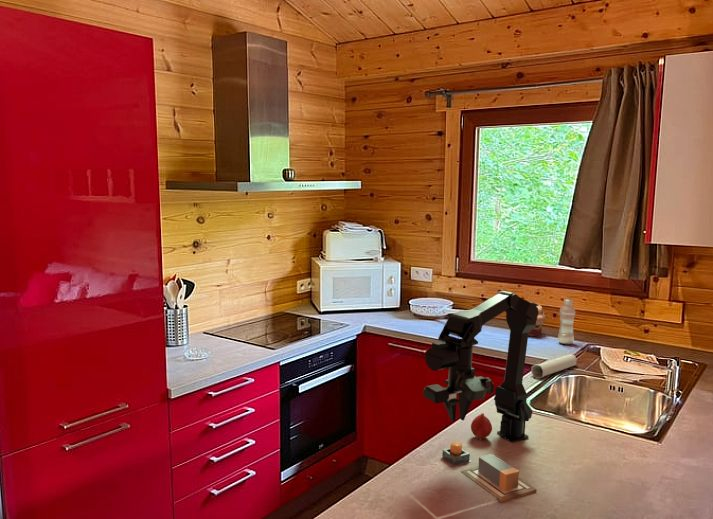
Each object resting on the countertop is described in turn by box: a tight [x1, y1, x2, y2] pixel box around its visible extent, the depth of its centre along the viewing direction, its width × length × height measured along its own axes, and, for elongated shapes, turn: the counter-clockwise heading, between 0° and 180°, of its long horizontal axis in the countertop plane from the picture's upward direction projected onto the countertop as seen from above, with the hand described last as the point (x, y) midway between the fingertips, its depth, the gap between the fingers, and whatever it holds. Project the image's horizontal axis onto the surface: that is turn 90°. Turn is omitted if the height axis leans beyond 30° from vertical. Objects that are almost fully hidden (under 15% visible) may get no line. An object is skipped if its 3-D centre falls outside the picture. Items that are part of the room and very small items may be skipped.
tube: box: [530, 353, 578, 379], centre depth 235 cm, size 5×5×25 cm
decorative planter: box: [528, 303, 547, 337], centre depth 287 cm, size 20×12×14 cm, turn 26°
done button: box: [449, 441, 463, 456], centre depth 162 cm, size 3×3×2 cm
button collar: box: [439, 447, 473, 467], centre depth 162 cm, size 6×6×2 cm
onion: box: [470, 412, 493, 440], centre depth 174 cm, size 6×6×8 cm
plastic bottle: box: [557, 297, 576, 345], centre depth 270 cm, size 6×7×20 cm
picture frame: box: [460, 465, 537, 503], centre depth 151 cm, size 11×15×1 cm
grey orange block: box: [477, 453, 520, 491], centre depth 151 cm, size 4×10×4 cm, turn 27°
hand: (457, 420), depth 160 cm, fingers open, 3 cm apart
